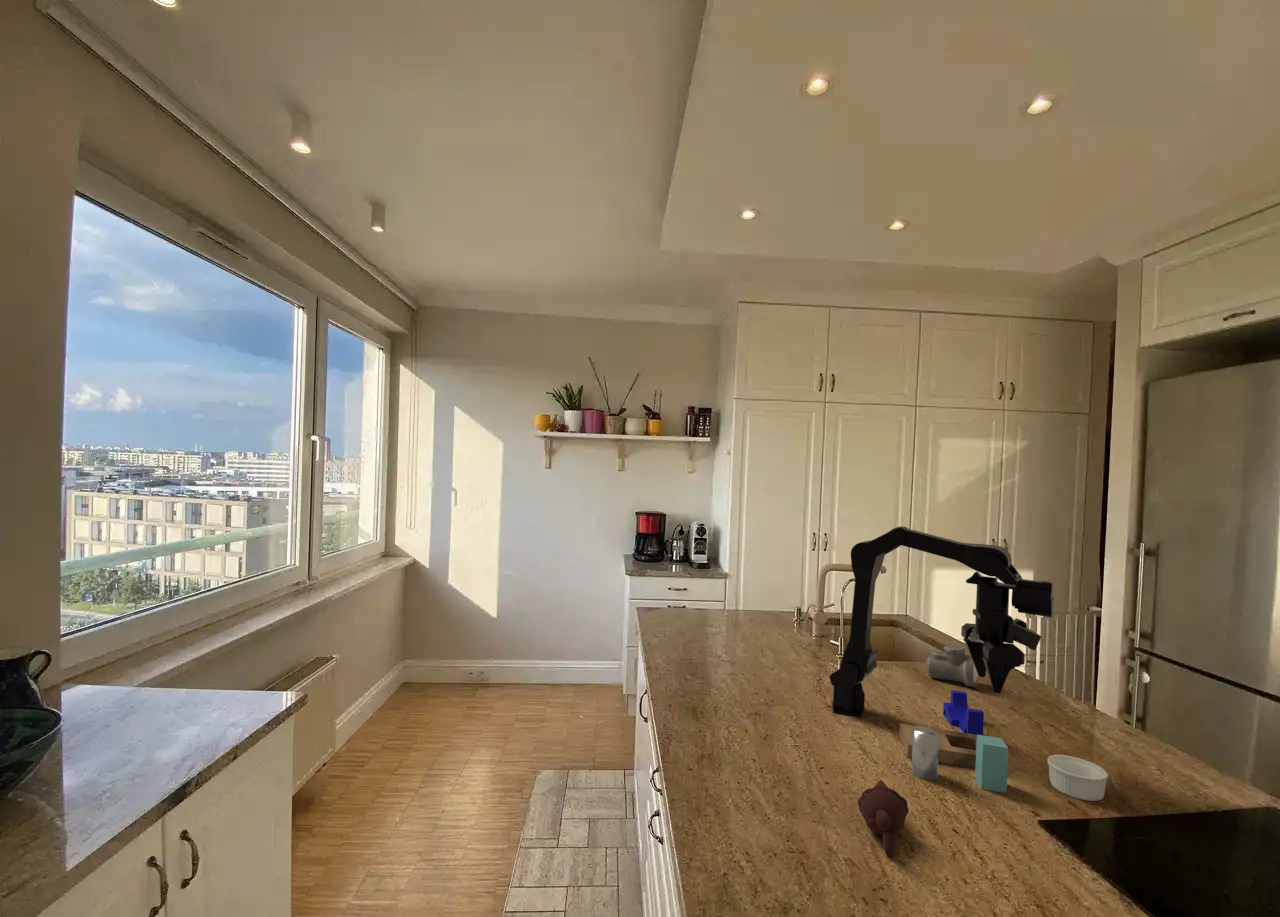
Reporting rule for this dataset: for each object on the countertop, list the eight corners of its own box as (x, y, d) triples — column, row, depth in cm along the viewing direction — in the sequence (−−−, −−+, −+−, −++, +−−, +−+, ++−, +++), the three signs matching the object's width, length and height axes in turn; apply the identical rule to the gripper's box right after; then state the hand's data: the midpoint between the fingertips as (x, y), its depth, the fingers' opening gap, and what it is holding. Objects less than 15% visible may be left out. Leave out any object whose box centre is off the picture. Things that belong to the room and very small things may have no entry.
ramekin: (1035, 781, 111) (1036, 758, 111) (1065, 773, 114) (1066, 750, 114) (1087, 808, 102) (1088, 782, 102) (1118, 798, 106) (1119, 774, 106)
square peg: (981, 788, 107) (983, 744, 107) (975, 777, 111) (976, 734, 111) (1006, 793, 106) (1008, 748, 106) (999, 781, 110) (1001, 738, 110)
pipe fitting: (980, 681, 161) (976, 643, 161) (976, 692, 155) (972, 653, 155) (932, 675, 169) (928, 639, 169) (926, 685, 162) (922, 648, 162)
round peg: (913, 777, 110) (915, 734, 110) (909, 766, 114) (911, 724, 114) (939, 782, 108) (941, 738, 109) (934, 770, 113) (936, 728, 113)
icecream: (853, 761, 102) (853, 817, 88) (899, 759, 99) (907, 817, 85) (862, 801, 102) (864, 863, 88) (909, 800, 99) (918, 864, 85)
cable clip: (942, 715, 139) (944, 689, 139) (963, 717, 138) (964, 691, 138) (959, 738, 128) (960, 709, 128) (982, 740, 127) (983, 712, 127)
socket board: (907, 757, 118) (907, 744, 118) (899, 735, 127) (899, 723, 127) (998, 771, 113) (998, 758, 113) (983, 747, 123) (983, 735, 123)
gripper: (1057, 623, 111) (1054, 707, 111) (1018, 601, 129) (1015, 674, 129) (990, 617, 113) (987, 699, 113) (961, 596, 132) (959, 667, 131)
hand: (989, 684), depth 122 cm, fingers open, 9 cm apart
